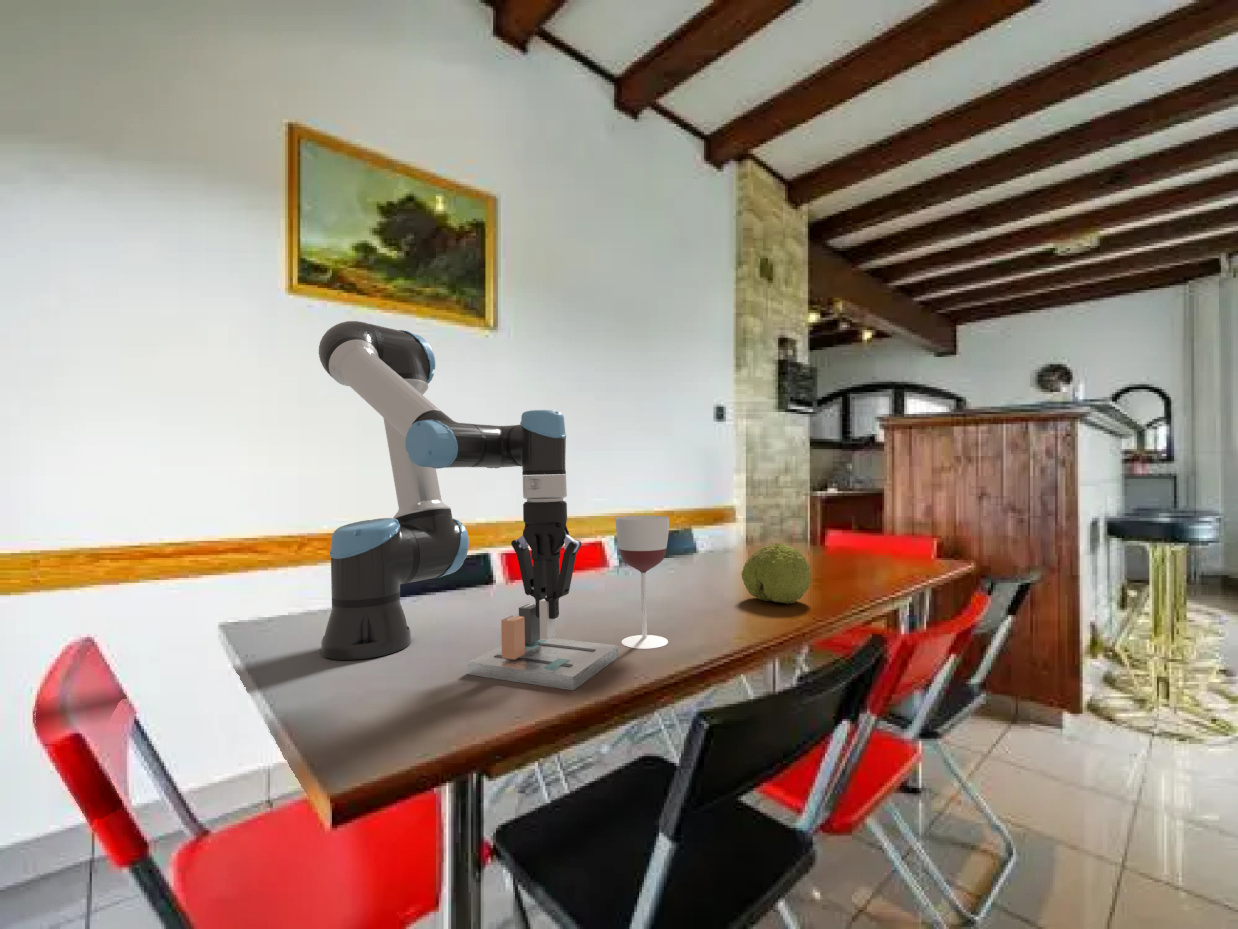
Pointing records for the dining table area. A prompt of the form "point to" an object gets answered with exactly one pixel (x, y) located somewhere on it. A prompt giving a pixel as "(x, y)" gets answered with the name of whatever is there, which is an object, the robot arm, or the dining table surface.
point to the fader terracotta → (513, 637)
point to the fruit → (777, 574)
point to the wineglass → (643, 561)
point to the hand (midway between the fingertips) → (547, 636)
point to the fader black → (530, 623)
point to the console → (547, 663)
